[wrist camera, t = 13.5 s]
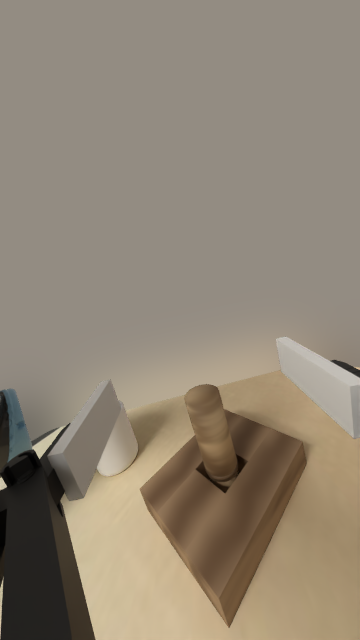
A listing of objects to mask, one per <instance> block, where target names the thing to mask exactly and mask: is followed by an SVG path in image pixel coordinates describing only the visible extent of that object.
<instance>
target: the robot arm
mask: <svg viewBox="0 0 360 640" xmlns="http://www.w3.org/2000/svg"><path fill="white" fill-rule="evenodd" d="M276 343H277V349H278V356H279V362H280V368H281V372H282V373H283V374H284V375H285V376H287V377H288V378H289V379H290V380H291V381H292V382H293V383H294V384H295V385H296V386H297V387H298V388H300V389H301V390H302V391H303V392H304V393H305V394H306V395H307V396H308V397H309V398H310V399H311V400H312V401H314V402H315V403H316V404H317V405H318V406H319V407H320V408H321V409H322V410H323V411H324V412H325V413H327V414H328V415H329V416H330V417H331V418H332V419H333V420H334V421H335V422H336V423H337V424H338V425H339V426H341V427H342V428H343V429H344V430H345V431H346V432H347V433H348V434H349V435H350V436H351V437H352V438H354V439H356V438H360V370H358V369H356V368H354V367H352V366H350V365H348V364H347V363H344V362H340V361H337V360H332V361H328V360H327V359H325V358H323V357H322V356H320V355H318V354H316V353H314V352H312V351H311V350H309V349H307V348H305V347H304V346H302V345H300V344H298V343H297V342H295V341H293V340H291V339H289V338H288V337H282V338H278V339H276ZM120 411H121V407H120V404H119V401H118V399H117V396H116V393H115V390H114V388H113V385H112V383H111V380H106V381H102V382H101V383H100V384H99V385H98V387H97V388H96V390H95V391H94V392H93V394H92V395H91V396H90V398H89V399H88V401H87V402H86V403H85V405H84V406H83V408H82V409H81V410H80V412H79V413H78V414H77V416H76V417H75V418H74V420H73V421H72V423H69V424H68V425H67V426H66V427H65V428H64V429H62V430H61V432H60V433H59V434H58V436H57V437H56V439H55V440H54V441H53V442H52V445H50V446H49V448H48V449H47V450H46V452H45V453H44V454H43V456H42V457H41V458H40V460H39V458H38V456H37V454H36V452H35V451H34V450H32V444H31V441H30V438H29V434H28V431H27V428H26V424H25V421H24V418H23V414H22V411H21V408H20V405H19V401H18V398H17V395H16V391H15V390H14V389H7V390H2V391H0V478H1V477H2V478H3V480H4V482H5V484H6V485H7V488H5V489H3V490H0V587H1V583H2V580H3V599H2V619H1V639H0V640H95V636H94V632H93V628H92V624H91V620H90V616H89V612H88V608H87V603H86V599H85V595H84V591H83V587H82V583H81V579H80V575H79V571H78V567H77V563H76V559H75V554H74V550H73V546H72V542H71V538H70V534H69V530H68V526H67V522H66V518H65V514H64V510H63V506H62V504H61V502H60V500H61V498H62V496H63V494H64V492H65V494H66V496H67V498H68V500H69V501H72V500H77V499H81V498H84V496H85V494H86V492H87V489H88V487H89V485H90V482H91V480H92V478H93V475H94V473H95V470H96V468H97V466H98V463H99V461H100V459H101V456H102V454H103V451H104V449H105V447H106V444H107V442H108V440H109V437H110V435H111V433H112V430H113V428H114V425H115V423H116V421H117V418H118V416H119V414H120ZM3 576H4V579H3Z"/></svg>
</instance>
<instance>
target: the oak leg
mask: <svg viewBox="0 0 360 640" xmlns="http://www.w3.org/2000/svg"><path fill="white" fill-rule="evenodd" d="M184 399H185V403H186V406H187V409H188V413H189V416H190V419H191V423H192V426H193V429H194V433H195V436H196V439H197V442H198V446H199V449H200V452H201V456H202V459H203V462H204V467H205V470H206V472H207V474H208V476H209V477H210V478H211V479H212V480H213V484H214V485H215V486H216V487H217V488H219V489H220V490H221V491H222V492H223V493H226V492H227V491H228V489H229V488H230V486H231V485H232V484H233V482H234V481H235V479H236V478H237V476H238V475H237V471H238V460H237V457H236V454H235V450H234V446H233V442H232V439H231V435H230V431H229V427H228V423H227V420H226V416H225V412H224V408H223V404H222V401H221V397H220V393H219V390H218V388H217V387H216V386H213V385H209V384H208V385H207V384H206V385H199V386H196V387H194V388H192V389H190V390H189V391H188V392H187V393H186V395H185V398H184Z"/></svg>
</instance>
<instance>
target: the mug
mask: <svg viewBox="0 0 360 640" xmlns="http://www.w3.org/2000/svg"><path fill="white" fill-rule="evenodd" d="M118 401H119V400H118ZM119 404H120V407H121V411H120V414H119V416H118V418H117V421H116V423H115V425H114V428H113V430H112V433H111V435H110V437H109V440H108V442H107V444H106V447H105V449H104V451H103V454H102V456H101V459H100V461H99V463H98V466H97V470H98V472H99V473H100V474H101V475H104V476H114V475H117V474H119V473H121V472H122V471H124V470H125V469H126V468H128V467H129V466H130V465H131V464H132V462H133V461H134V459H135V458H136V456H137V452H138V443H137V440H136V437H135V435H134V432H133V429H132V427H131V424H130V421H129V418H128V416H127V413H126V410H125V408H124V405H123V403H122V402H121V401H119Z"/></svg>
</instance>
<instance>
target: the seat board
mask: <svg viewBox="0 0 360 640" xmlns="http://www.w3.org/2000/svg"><path fill="white" fill-rule="evenodd" d="M224 412H225V416H226V420H227V423H228V427H229V431H230V435H231V439H232V442H233V446H234V450H235V454H236V457H237V460H238V471H237V472H238V473H240V474H239V475H238V476H237V478H236V479H235V481H234V482H233V484H232V485H231V486H230V488H229V489H228V491H227V492H226V493H223V492H222V491H221V490H220V489H219V488H217V487H216V486H215V485H214V484H213V483H211V482H210V481H209V480H210V479H211V478H210V477H209V476H208V474H207V472H206V470H205V467H204V462H203V459H202V456H201V452H200V449H199V446H198V442H197V439H196V436H194V437H193V438H192V439H190V440H189V441H188V442H187V443H186V444H185V445H184V446H183V447H182V448H181V449H180V450H179V451H178V452H177V453H176V454H175V455H174V456H173V457H172V458H171V459H170V460H169V461H168V462H167V463H166V464H165V465H164V466H163V467H162V468H161V469H160V470H159V471H158V472H157V473H156V474H155V475H154V476H152V477H151V478H150V479H149V480H148V481H147V482H146V483H145V484H144V485H143V486H142V487H141V488H140V491H141V493H142V496H143V499H144V501H145V504H146V506H147V509H148V511H149V512H150V514H151V515H152V516H153V518H154V519H155V521H156V522H157V524H158V525H159V527H160V528H161V530H162V531H163V532H164V534H165V535H166V537H167V538H168V540H169V541H170V543H171V544H172V546H173V547H174V549H175V550H176V551H177V553H178V554H179V556H180V557H181V559H182V560H183V562H184V563H185V565H186V566H187V567H188V569H189V570H190V572H191V573H192V575H193V576H194V578H195V579H196V581H197V582H198V583H199V585H200V586H201V588H202V589H203V591H204V592H205V594H206V595H207V597H208V598H209V600H210V601H211V602H212V604H213V605H214V607H215V608H216V610H217V611H218V613H219V614H220V616H221V617H222V618H223V620H224V621H225V623H226V624H227V626H228V627H230V625H231V622H232V620H233V618H234V616H235V614H236V612H237V610H238V608H239V605H240V603H241V601H242V599H243V597H244V595H245V593H246V591H247V588H248V586H249V584H250V582H251V580H252V578H253V576H254V574H255V572H256V569H257V567H258V565H259V563H260V561H261V559H262V557H263V555H264V552H265V550H266V548H267V546H268V544H269V542H270V540H271V538H272V535H273V533H274V531H275V529H276V527H277V525H278V523H279V521H280V519H281V516H282V514H283V512H284V510H285V508H286V506H287V504H288V502H289V499H290V497H291V495H292V493H293V491H294V489H295V487H296V485H297V483H298V480H299V478H300V476H301V474H302V472H303V470H304V468H305V466H306V458H305V453H304V447H303V442H302V441H300V440H297V439H295V438H292V437H290V436H288V435H285V434H283V433H280V432H278V431H276V430H273V429H271V428H268V427H266V426H264V425H261V424H259V423H256V422H254V421H251V420H249V419H247V418H244V417H242V416H239V415H237V414H235V413H232V412H230V411H227V410H225V409H224Z"/></svg>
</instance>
